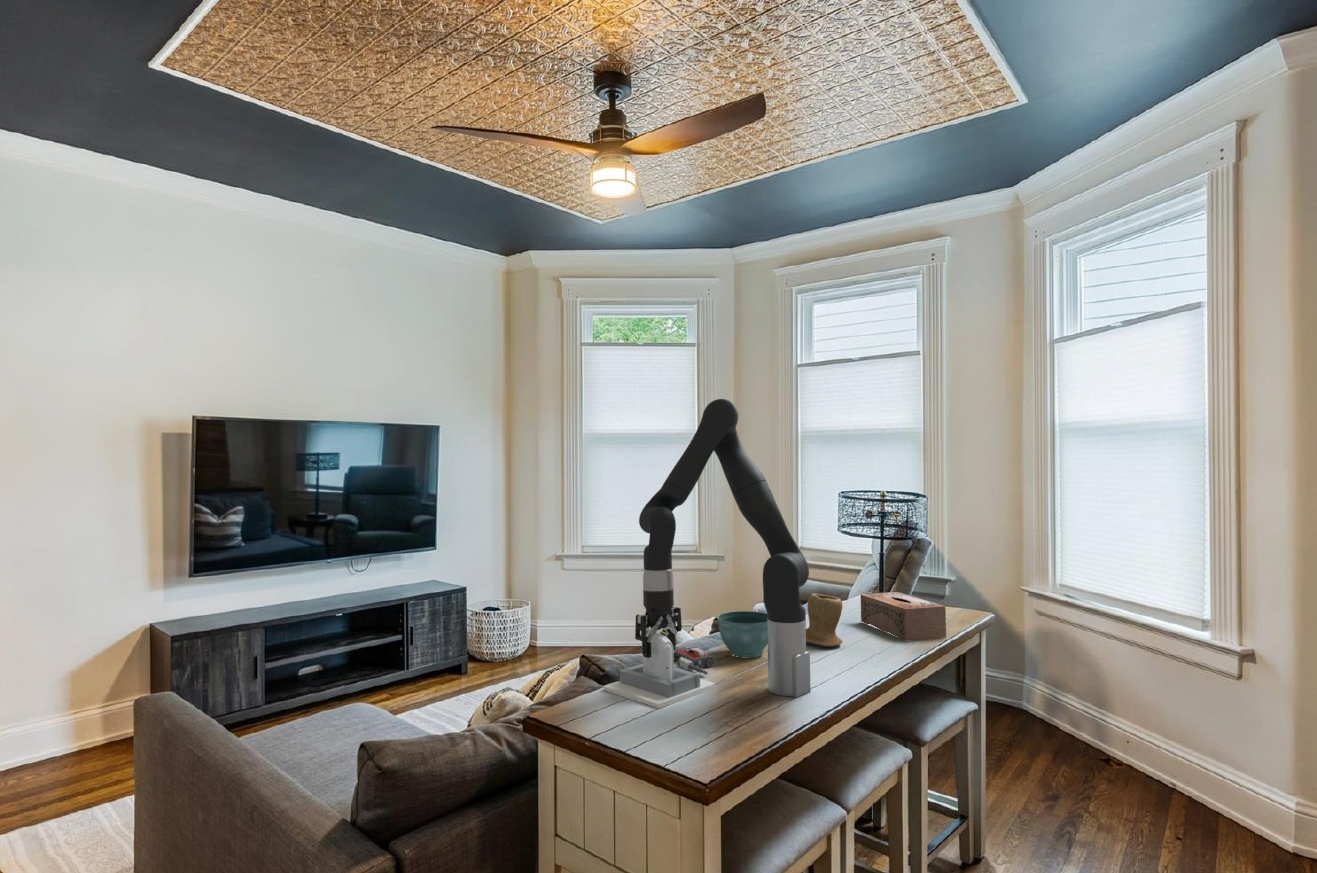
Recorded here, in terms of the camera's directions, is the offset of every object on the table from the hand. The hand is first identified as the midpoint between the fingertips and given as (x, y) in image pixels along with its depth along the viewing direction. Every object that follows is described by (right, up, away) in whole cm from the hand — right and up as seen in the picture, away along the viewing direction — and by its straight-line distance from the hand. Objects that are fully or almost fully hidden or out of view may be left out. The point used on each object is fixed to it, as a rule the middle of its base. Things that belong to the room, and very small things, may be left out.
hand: (659, 653), depth 171 cm
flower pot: (+25, -10, +30) cm, 41 cm away
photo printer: (0, -8, +1) cm, 8 cm away
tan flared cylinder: (+49, -10, +42) cm, 65 cm away
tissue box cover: (+80, -11, +58) cm, 99 cm away
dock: (0, -9, 0) cm, 9 cm away
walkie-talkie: (+10, -10, +19) cm, 24 cm away
